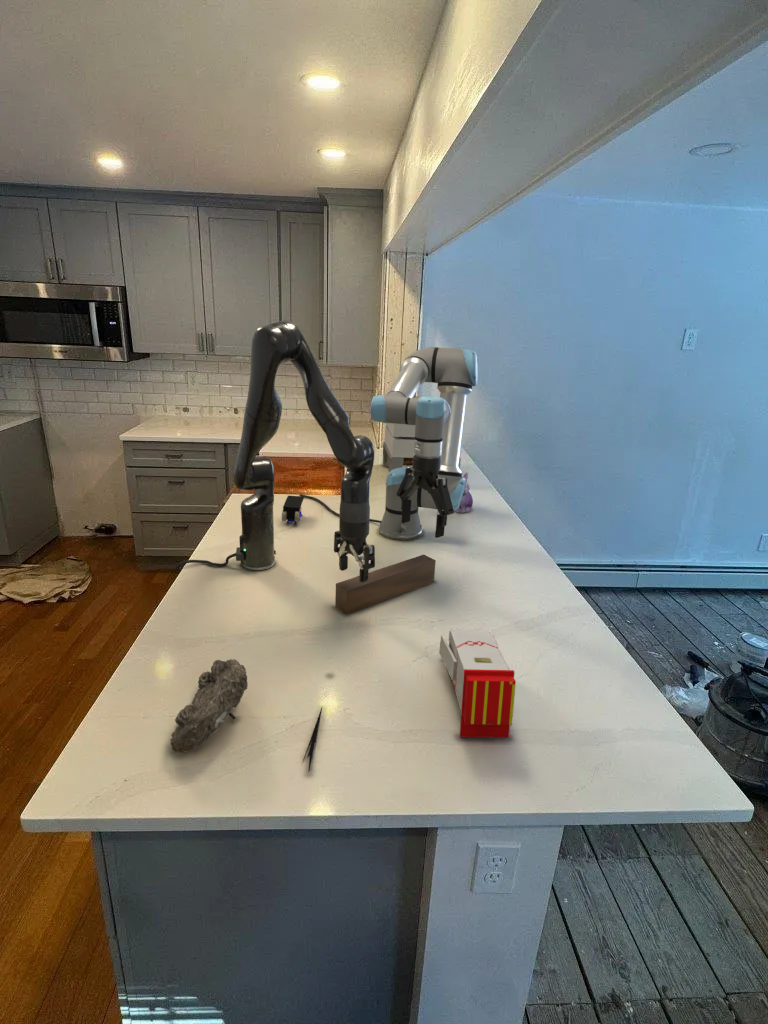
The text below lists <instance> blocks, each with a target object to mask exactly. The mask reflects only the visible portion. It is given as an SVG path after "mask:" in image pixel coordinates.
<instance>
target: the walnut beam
mask: <svg viewBox="0 0 768 1024" xmlns="http://www.w3.org/2000/svg"><path fill="white" fill-rule="evenodd" d="M436 562H437V560H436V559H435V558H433V557H431V556H429V555H426V554H420V555H418V556H415V557H412V558H409V559H406V560H403V561H400V562H397V563H394V564H391V565H388V566H384V567H381V568H379V569H376V570H373V571H369V573H368V580H367V581H366V582H363V583H361V582H360V581H359V575H357V576H355V577H351V578H348V579H345V580H342V581H340V582H336V583H335V602H334V603H335V605H334V607H335V609H337V610H338V611H340V612H341V613H343V614H344V615H345V616H348V615H350V614H353V613H356V612H359V611H362V610H364V609H366V608H369V607H372V606H374V605H376V604H379V603H382V602H384V601H387V600H390V599H393V598H396V597H398V596H400V595H403V594H405V593H408V592H411V591H413V590H417V589H419V588H421V587H424V586H427V585H429V584H432V583H434V582H435V573H436Z"/></svg>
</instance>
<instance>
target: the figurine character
mask: <svg viewBox="0 0 768 1024" xmlns="http://www.w3.org/2000/svg"><path fill="white" fill-rule="evenodd" d="M304 498H305V497H302V496H300V495H287V497H286V499H285V500H284V504H283V507H282V513H281V514H282V515H281V522H286V523H285V525H286V526H289V523H294V524H293V526H297V522H299V521H301V518H302V517H303V514H302V511H303V508H302V505H303V501H304V500H305V499H304Z"/></svg>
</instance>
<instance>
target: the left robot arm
mask: <svg viewBox="0 0 768 1024" xmlns="http://www.w3.org/2000/svg"><path fill="white" fill-rule="evenodd" d="M250 350H251V351H250V352H251V353H250V373H249V383H248V390H247V391H248V392H247V399H246V404H245V408H244V414H243V422H242V429H241V430H242V431H241V437H240V441H239V446H238V449H237V453H236V457H235V460H234V463H233V469H232V471H233V474H232V475H233V476H232V477H233V484H234V485H235V487H236V488H237V489H238V490H239V491H245V492H246V491H247V492H249V491H255V492H254V493H253V494H251V495H250V496H248V497H246V498H245V499H243V500H242V501H241V503H240V518H241V535H240V536H239V537H238V538H239V539H238V540H239V546H236V548H235V549H236V550H235V553H231V554H229V555H228V556H226V558H225V561H224V562H223V563H218V562H212V561H209V560H204V559H187V560H183V561H181V562H179V563H178V564H177V565H176V566H175V567H174V569H180V568H181V567H182V566H184V565H186V564H193V563H194V564H207V565H209V566H213V567H226V566H228V564H229V561H230V559H232V558H234V557H235V562H240V567H243V568H244V569H247V570H251V571H264V570H268V569H270V568H272V567H274V566H275V564H276V562H275V561H276V559H275V555H276V554H277V552H276V550H275V530H274V529H275V526H274V504H275V503H274V502H275V467H274V466H275V465H274V463H273V461H272V459H271V458H270V457H268V456H263V455H261V456H257V455H258V453H259V452H260V451H261V450H262V449H263V448H264V447H265V446H266V445H267V444H268V443H269V442H270V441H271V440H272V439H273V438H274V437H275V435H276V433H277V432H278V430H279V428H280V423H281V418H282V415H283V403H282V399H281V397H280V396H279V393H278V391H277V389H276V384H275V383H276V377H277V373H278V369H279V366H281V364H284V363H287V362H291V363H292V365H293V366H294V367H295V368H296V370H297V372H298V373H299V375H300V377H301V380H302V383H303V388H304V394H305V395H304V396H305V402H306V404H307V407H308V410H309V412H310V414H311V415H312V417H313V418H314V420H315V421H316V423H317V424H318V425H319V427H320V428H321V431H323V432H324V434H325V436H326V438H327V442H328V444H329V446H330V449H331V451H332V454H333V455H334V457H335V459H336V460H337V462H338V463H339V464H340V465H341V466H343V468H346V472H345V474H344V476H343V477H342V478H341V482H340V503H339V514H340V517H339V518H338V519H339V521H338V522H339V523H338V524H339V525H338V527H339V528H338V529H339V530H335V531H334V535H333V538H334V539H333V552H334V553H336V554H337V557H338V566H339V567H338V568H339V571H346V570H348V567H349V556H348V555H351V556H352V557H354V560H355V562H357V564H358V566H359V575H358V576H359V581H360V582H361V583H363V582H366V581H367V580H368V573H369V572H370V570H371V569H373V568H375V567H376V547H375V545H374V544H370V545H369V544H368V543H367V538H368V536H369V534H370V522H371V521H370V519H371V517H370V516H371V515H370V514H371V505H370V480H371V477H372V472H373V467H374V463H375V446H374V444H373V441H372V440H371V439H370V438H369V437H368V436H365V435H361V434H358V435H355V436H354V433H353V432H352V430H351V428H350V425H351V418H350V416H349V414H348V412H347V411H346V410H345V409H344V407H343V405H342V404H341V402H340V401H339V400H338V398H337V397H336V396H335V394H334V393H333V391H332V390H331V388H330V386H329V384H328V383H327V381H326V379H325V377H324V375H323V373H322V370H321V369H320V366H319V364H318V363H317V361H316V357H315V356H314V354H313V352H312V349H311V348H310V345H309V344H308V342H307V339H305V337H304V334H303V333H302V331H301V329H299V327H298V326H297V324H295V323H294V322H293V321H291V320H287V319H284V320H278V321H275V322H272V323H269V324H265V325H261V326H260V327H258V328H257V329H256V331H254V334H253V336H252V341H251V349H250ZM361 555H362V556H361Z"/></svg>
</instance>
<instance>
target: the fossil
mask: <svg viewBox="0 0 768 1024" xmlns="http://www.w3.org/2000/svg"><path fill="white" fill-rule="evenodd" d="M197 683H198V684H197V687H198V690H197V691H196V693H195V694H194V697H193V698H192V701H191V704H187V705H185V706H184V707H183V708H182V709H181V710H179V712H178V713H177V715H176V717H175V719H174V721H175V723H176V725H177V726H176V728H175V730H174V731H173V732H172V733H171V735H170V736H171V738H170V747H171V750H172V751H176V752H178V753H186V752H190V751H193V752H195V751H197V750H198V749H199V748H200V747H201V746H202V745H203V744H204V743H205V742H207V741H208V740H209V739H210V737H211V736H212V735H213V734H215V733H216V731H218V730H219V729H220V728H221V726H222V725H223V723H224V721H225V720H226V719H227V718H228V717H230V718H232V720H235V719H236V716H235V715H234V714H233V713H232V710H233V709H235V708H237V706H238V705H239V704H240V702H241V700H242V698H243V696H244V693H245V691H246V690H247V689H248V686H249V685H248V675H247V669H246V668H245V666H244V665H243V664H241V663H240V661H238V660H237V659H236V658H234V659H232V658H230V659H226V660H221V659H216V660H214V661H213V662H212V665H211V667H210V671H208V670H207V671H205V672H201V674H200V675H199V676H198V681H197Z"/></svg>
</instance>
